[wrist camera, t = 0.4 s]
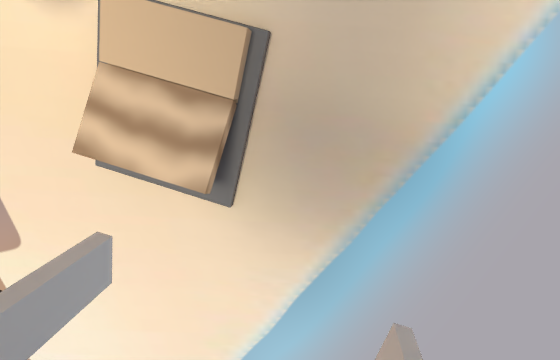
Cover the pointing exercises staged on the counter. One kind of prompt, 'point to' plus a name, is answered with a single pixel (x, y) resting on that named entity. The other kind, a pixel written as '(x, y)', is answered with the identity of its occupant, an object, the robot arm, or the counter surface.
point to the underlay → (188, 68)
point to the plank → (155, 127)
